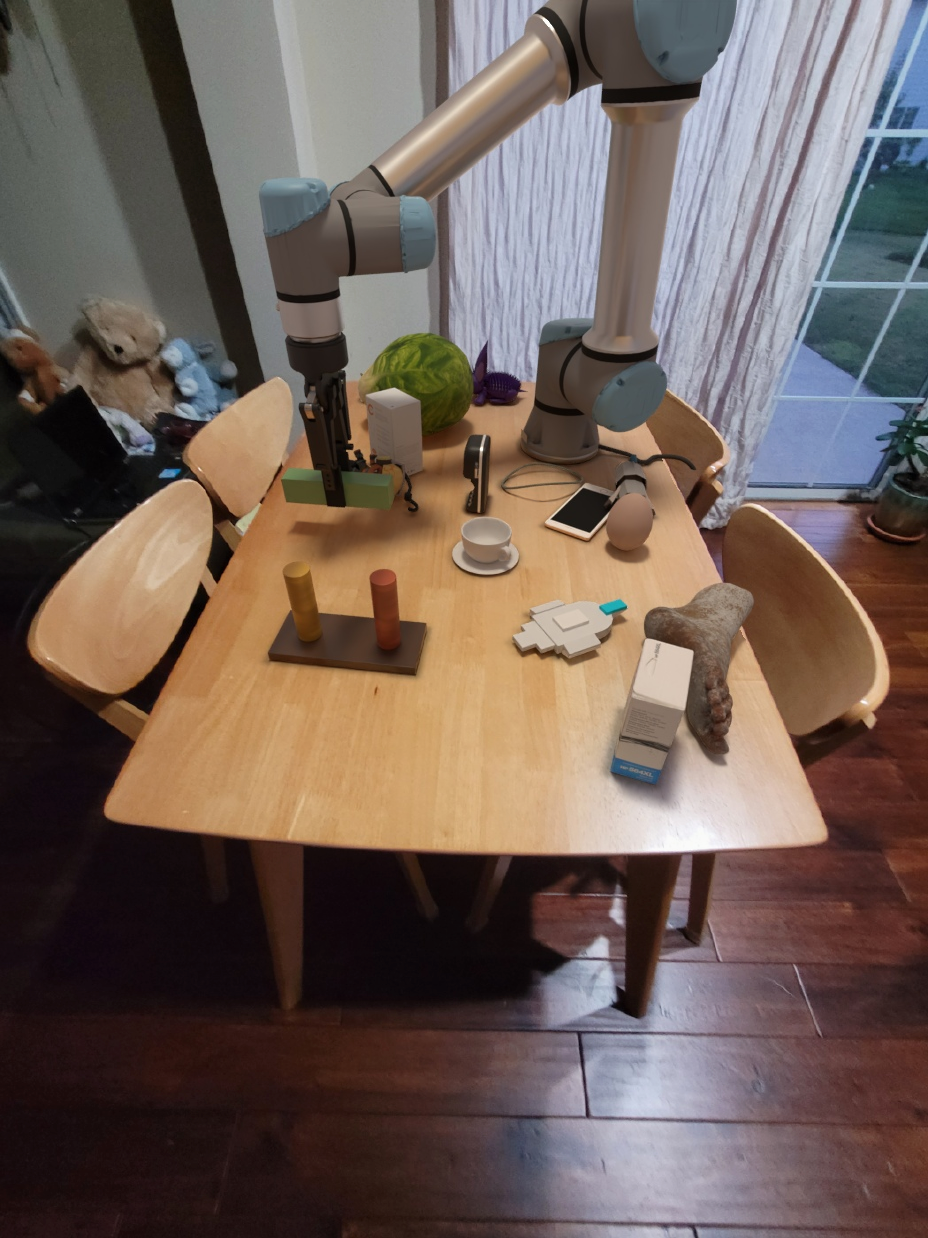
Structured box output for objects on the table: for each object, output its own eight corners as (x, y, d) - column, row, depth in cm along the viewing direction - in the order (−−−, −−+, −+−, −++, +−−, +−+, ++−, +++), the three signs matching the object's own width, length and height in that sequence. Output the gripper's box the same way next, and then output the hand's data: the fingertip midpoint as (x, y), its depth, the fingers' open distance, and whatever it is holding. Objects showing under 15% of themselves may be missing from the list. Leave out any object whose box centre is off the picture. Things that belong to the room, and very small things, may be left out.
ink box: (656, 787, 58) (688, 712, 50) (606, 771, 60) (630, 696, 52) (666, 724, 64) (696, 648, 56) (621, 710, 66) (645, 634, 58)
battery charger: (466, 492, 101) (467, 429, 94) (488, 494, 101) (491, 430, 93) (461, 513, 96) (461, 448, 88) (483, 515, 96) (486, 450, 88)
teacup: (438, 553, 87) (438, 527, 84) (488, 530, 92) (489, 504, 89) (482, 586, 82) (483, 559, 79) (532, 559, 87) (535, 533, 84)
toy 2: (655, 541, 94) (645, 485, 103) (671, 511, 89) (659, 455, 99) (603, 531, 93) (597, 476, 103) (617, 500, 88) (610, 446, 98)
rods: (426, 629, 75) (424, 558, 68) (415, 674, 69) (411, 603, 62) (291, 616, 76) (274, 546, 69) (269, 659, 70) (247, 587, 63)
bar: (394, 498, 89) (392, 474, 86) (389, 510, 87) (387, 486, 84) (293, 490, 90) (288, 467, 88) (286, 502, 88) (280, 478, 85)
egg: (652, 544, 90) (666, 492, 84) (635, 565, 86) (650, 511, 80) (612, 530, 93) (623, 478, 87) (594, 550, 88) (605, 497, 82)
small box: (423, 471, 107) (421, 400, 98) (395, 481, 104) (390, 409, 95) (398, 454, 111) (394, 386, 103) (370, 464, 108) (363, 394, 100)
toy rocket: (499, 614, 75) (499, 628, 76) (537, 661, 68) (536, 675, 69) (602, 580, 80) (601, 594, 81) (648, 621, 73) (645, 635, 74)
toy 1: (335, 447, 94) (399, 496, 89) (376, 428, 99) (439, 473, 94) (338, 485, 100) (397, 532, 95) (376, 465, 105) (435, 509, 100)
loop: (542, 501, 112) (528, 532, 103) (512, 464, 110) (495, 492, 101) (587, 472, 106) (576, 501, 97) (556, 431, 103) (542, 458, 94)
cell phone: (626, 498, 100) (627, 495, 100) (588, 541, 90) (588, 538, 90) (585, 485, 103) (586, 482, 103) (543, 525, 93) (543, 522, 93)
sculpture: (730, 721, 55) (871, 695, 57) (637, 576, 70) (750, 560, 72) (706, 768, 61) (834, 743, 63) (625, 625, 76) (730, 609, 78)
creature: (448, 393, 135) (448, 337, 127) (524, 391, 137) (529, 336, 128) (451, 408, 128) (451, 350, 120) (531, 406, 130) (537, 349, 122)
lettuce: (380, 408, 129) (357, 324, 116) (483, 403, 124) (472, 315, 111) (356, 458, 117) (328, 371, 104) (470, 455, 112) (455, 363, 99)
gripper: (306, 313, 79) (332, 471, 95) (260, 353, 67) (298, 526, 83) (360, 315, 78) (377, 473, 94) (324, 356, 66) (350, 530, 82)
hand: (340, 498), depth 88 cm, fingers closed on bar, 3 cm apart
